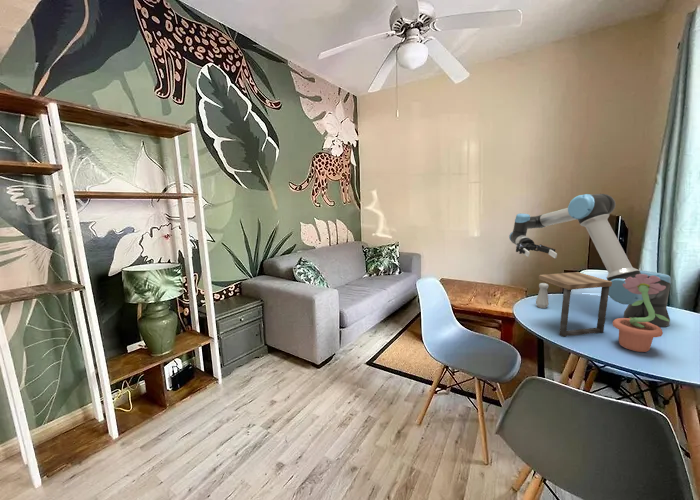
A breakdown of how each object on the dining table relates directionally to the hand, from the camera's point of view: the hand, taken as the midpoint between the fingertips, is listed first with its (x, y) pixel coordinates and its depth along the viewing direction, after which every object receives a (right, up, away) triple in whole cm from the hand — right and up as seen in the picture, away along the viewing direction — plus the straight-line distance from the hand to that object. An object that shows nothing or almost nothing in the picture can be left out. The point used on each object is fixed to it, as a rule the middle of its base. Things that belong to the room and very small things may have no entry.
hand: (542, 255), depth 155 cm
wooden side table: (-3, -32, -23) cm, 39 cm away
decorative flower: (+9, -35, -42) cm, 55 cm away
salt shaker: (0, -28, +1) cm, 28 cm away
